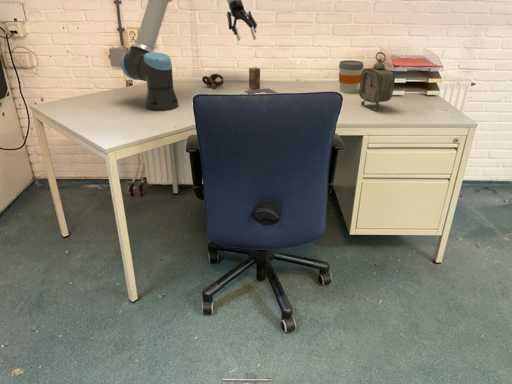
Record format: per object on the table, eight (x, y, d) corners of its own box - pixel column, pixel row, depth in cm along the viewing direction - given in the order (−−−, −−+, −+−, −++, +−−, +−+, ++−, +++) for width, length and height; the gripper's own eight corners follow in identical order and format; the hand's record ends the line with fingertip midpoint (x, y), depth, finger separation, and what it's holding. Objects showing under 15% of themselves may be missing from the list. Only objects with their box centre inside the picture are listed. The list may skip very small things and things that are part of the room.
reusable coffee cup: (335, 93, 214) (338, 64, 207) (337, 87, 225) (340, 59, 218) (359, 94, 211) (363, 65, 204) (360, 89, 222) (363, 61, 215)
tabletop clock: (357, 104, 195) (364, 50, 183) (372, 102, 198) (380, 49, 186) (374, 112, 183) (383, 55, 171) (391, 110, 186) (401, 54, 174)
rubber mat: (253, 96, 207) (253, 95, 206) (245, 91, 215) (245, 90, 215) (277, 93, 212) (277, 92, 212) (268, 89, 221) (268, 88, 220)
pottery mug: (222, 85, 229) (225, 74, 222) (220, 96, 223) (223, 85, 217) (202, 80, 227) (204, 68, 220) (199, 91, 221) (201, 79, 215)
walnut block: (252, 90, 218) (252, 69, 213) (249, 88, 222) (249, 67, 216) (259, 89, 220) (260, 68, 214) (256, 87, 223) (256, 67, 218)
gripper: (251, 9, 229) (262, 42, 224) (215, 9, 221) (227, 44, 216) (255, -1, 223) (267, 33, 217) (218, -1, 215) (230, 34, 209)
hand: (247, 38), depth 217 cm, fingers open, 9 cm apart
